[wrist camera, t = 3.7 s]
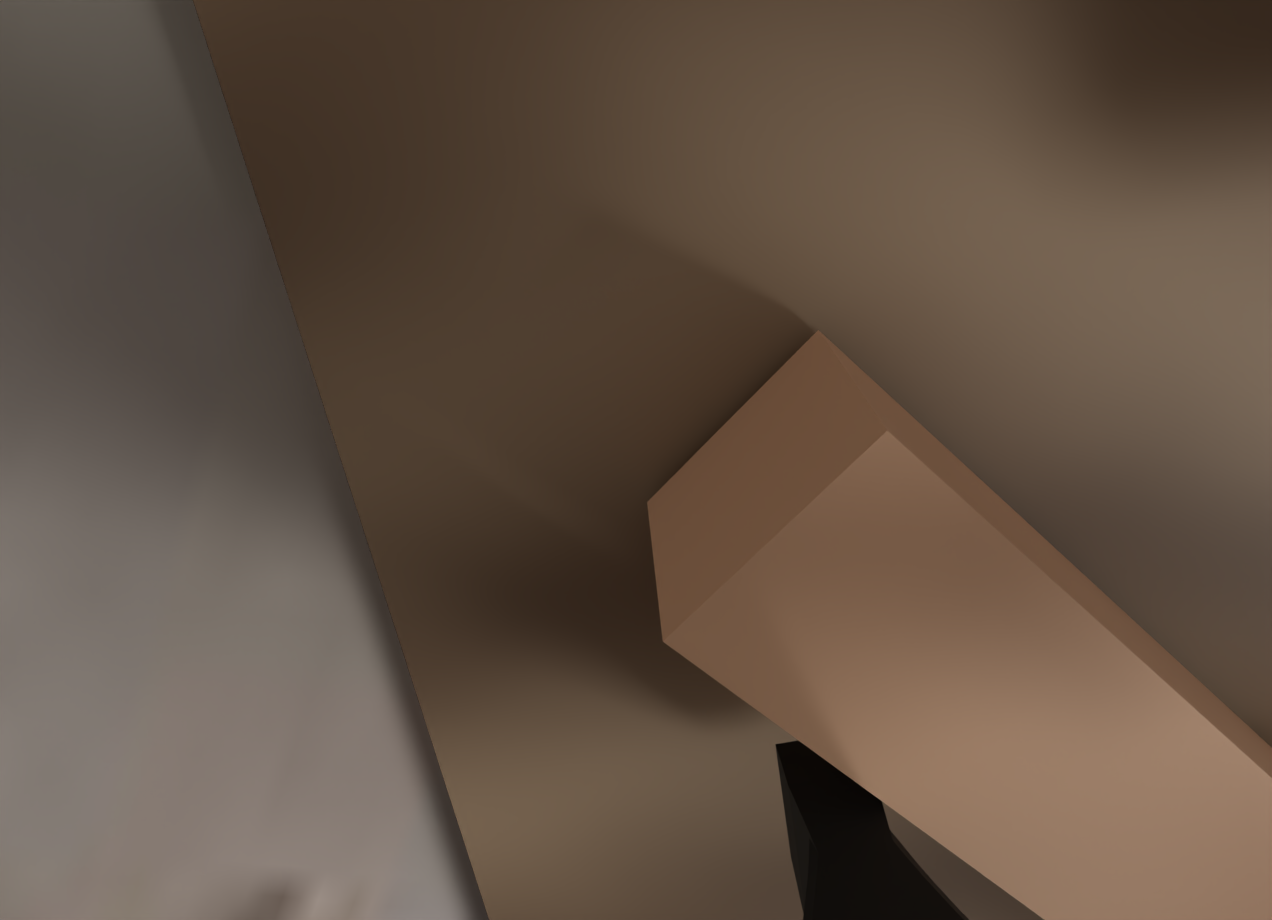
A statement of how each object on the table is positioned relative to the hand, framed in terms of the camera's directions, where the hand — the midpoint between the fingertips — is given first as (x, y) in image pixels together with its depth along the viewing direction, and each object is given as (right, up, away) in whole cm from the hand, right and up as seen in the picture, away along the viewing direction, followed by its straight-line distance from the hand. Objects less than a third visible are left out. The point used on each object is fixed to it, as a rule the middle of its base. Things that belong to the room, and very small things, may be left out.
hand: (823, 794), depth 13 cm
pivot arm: (+4, 0, +1) cm, 5 cm away
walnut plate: (+3, +3, +1) cm, 4 cm away
